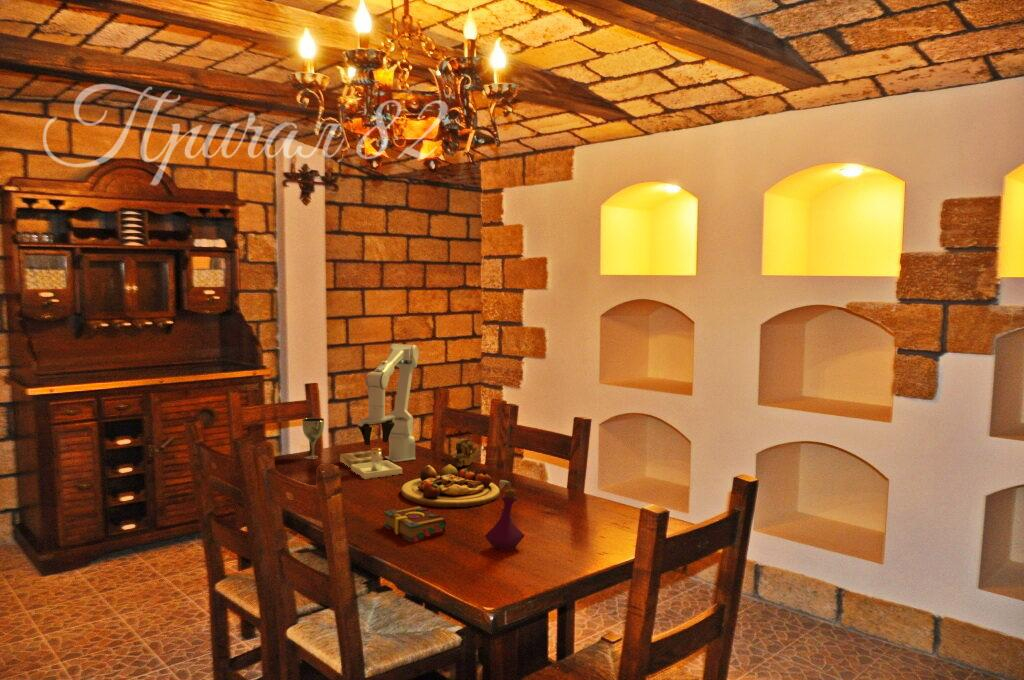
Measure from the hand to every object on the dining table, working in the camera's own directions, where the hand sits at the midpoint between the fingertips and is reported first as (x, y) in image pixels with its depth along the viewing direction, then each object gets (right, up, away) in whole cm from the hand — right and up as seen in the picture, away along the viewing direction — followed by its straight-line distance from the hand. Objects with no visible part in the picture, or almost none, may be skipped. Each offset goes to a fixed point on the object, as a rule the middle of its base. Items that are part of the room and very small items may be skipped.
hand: (376, 443), depth 260 cm
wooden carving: (+31, -10, +13) cm, 35 cm away
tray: (0, -10, 0) cm, 10 cm away
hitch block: (-8, -9, +12) cm, 17 cm away
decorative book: (+22, -16, -58) cm, 64 cm away
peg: (0, -10, 0) cm, 10 cm away
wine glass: (-27, -8, +18) cm, 34 cm away
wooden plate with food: (+28, -14, -22) cm, 38 cm away
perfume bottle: (+46, -18, -69) cm, 85 cm away
